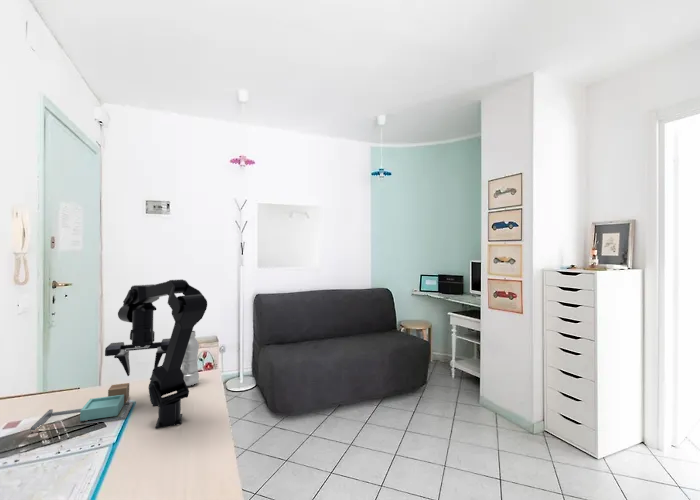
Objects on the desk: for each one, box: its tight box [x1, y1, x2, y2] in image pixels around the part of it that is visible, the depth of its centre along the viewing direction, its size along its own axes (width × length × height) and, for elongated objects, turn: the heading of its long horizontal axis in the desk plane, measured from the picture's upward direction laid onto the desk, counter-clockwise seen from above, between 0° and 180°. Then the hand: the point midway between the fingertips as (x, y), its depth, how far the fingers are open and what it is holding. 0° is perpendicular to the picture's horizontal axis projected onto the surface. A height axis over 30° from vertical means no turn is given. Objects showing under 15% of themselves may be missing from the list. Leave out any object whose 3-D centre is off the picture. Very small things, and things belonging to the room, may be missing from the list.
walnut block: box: [107, 382, 130, 403], centre depth 114 cm, size 5×5×5 cm
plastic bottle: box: [181, 330, 200, 387], centre depth 129 cm, size 6×7×20 cm
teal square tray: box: [79, 395, 124, 422], centre depth 104 cm, size 9×9×4 cm
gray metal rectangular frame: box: [30, 401, 134, 431], centre depth 102 cm, size 12×22×2 cm, turn 113°
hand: (141, 374), depth 108 cm, fingers open, 7 cm apart
